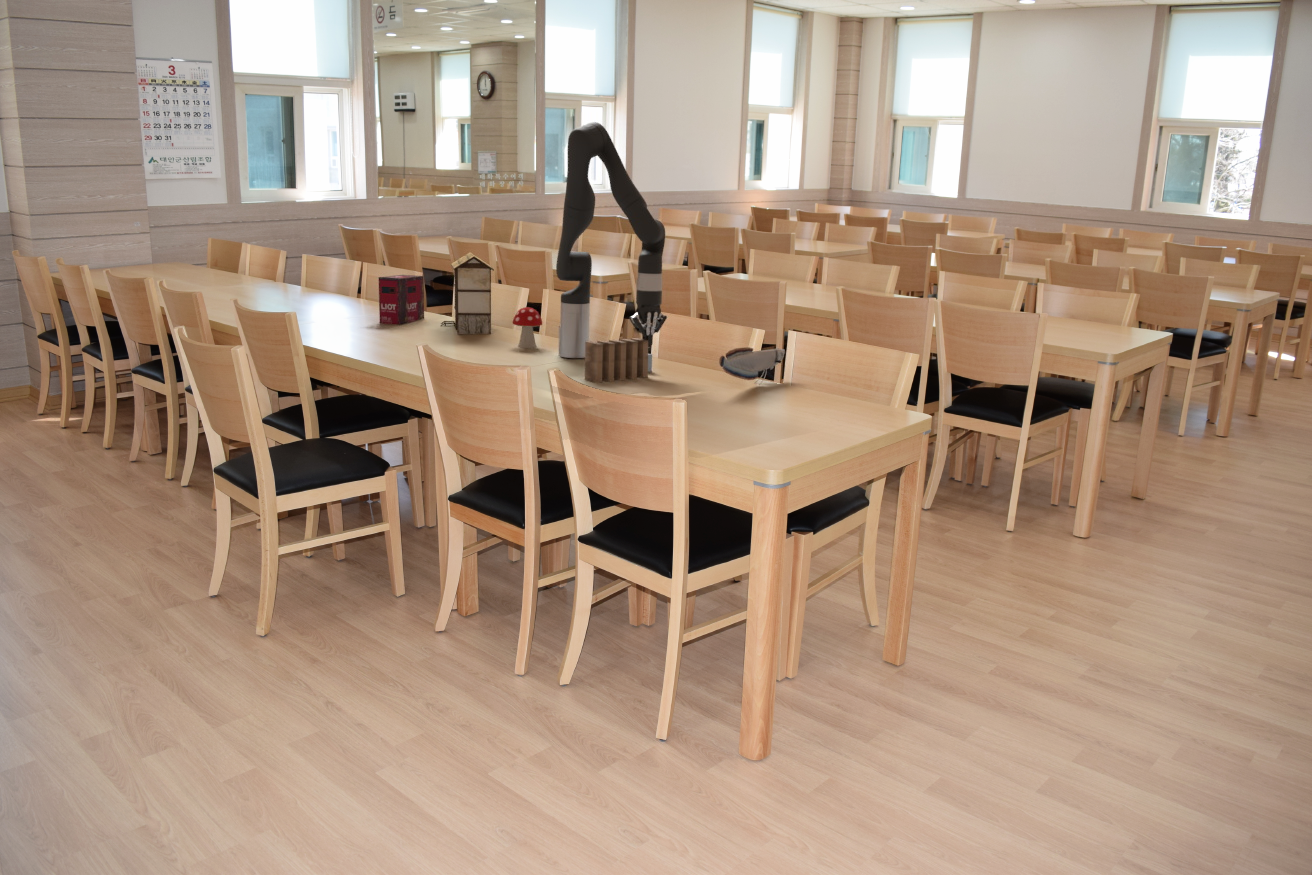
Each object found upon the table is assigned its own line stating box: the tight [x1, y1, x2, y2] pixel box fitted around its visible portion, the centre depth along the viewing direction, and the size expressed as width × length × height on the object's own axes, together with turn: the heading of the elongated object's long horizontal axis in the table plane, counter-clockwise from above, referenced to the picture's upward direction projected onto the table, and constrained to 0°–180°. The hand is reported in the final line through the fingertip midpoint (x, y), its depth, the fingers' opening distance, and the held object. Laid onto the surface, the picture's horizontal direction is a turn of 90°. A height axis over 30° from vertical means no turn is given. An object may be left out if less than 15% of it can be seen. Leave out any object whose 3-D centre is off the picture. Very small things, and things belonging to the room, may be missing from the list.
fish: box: [718, 347, 786, 386], centre depth 288 cm, size 34×7×12 cm, turn 137°
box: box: [378, 274, 425, 326], centre depth 379 cm, size 16×9×20 cm, turn 162°
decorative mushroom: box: [512, 306, 543, 349], centre depth 336 cm, size 10×9×15 cm
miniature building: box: [440, 252, 495, 335], centre depth 365 cm, size 25×19×30 cm
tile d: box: [596, 340, 615, 382], centre depth 290 cm, size 6×2×11 cm, turn 39°
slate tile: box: [648, 353, 653, 373], centre depth 308 cm, size 6×2×11 cm
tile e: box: [584, 340, 603, 384], centre depth 288 cm, size 6×2×11 cm, turn 39°
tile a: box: [630, 337, 649, 378], centre depth 298 cm, size 6×2×11 cm, turn 39°
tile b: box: [619, 338, 638, 380], centre depth 296 cm, size 6×2×11 cm, turn 39°
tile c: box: [608, 339, 626, 381], centre depth 293 cm, size 6×2×11 cm, turn 39°
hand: (647, 347), depth 299 cm, fingers closed
